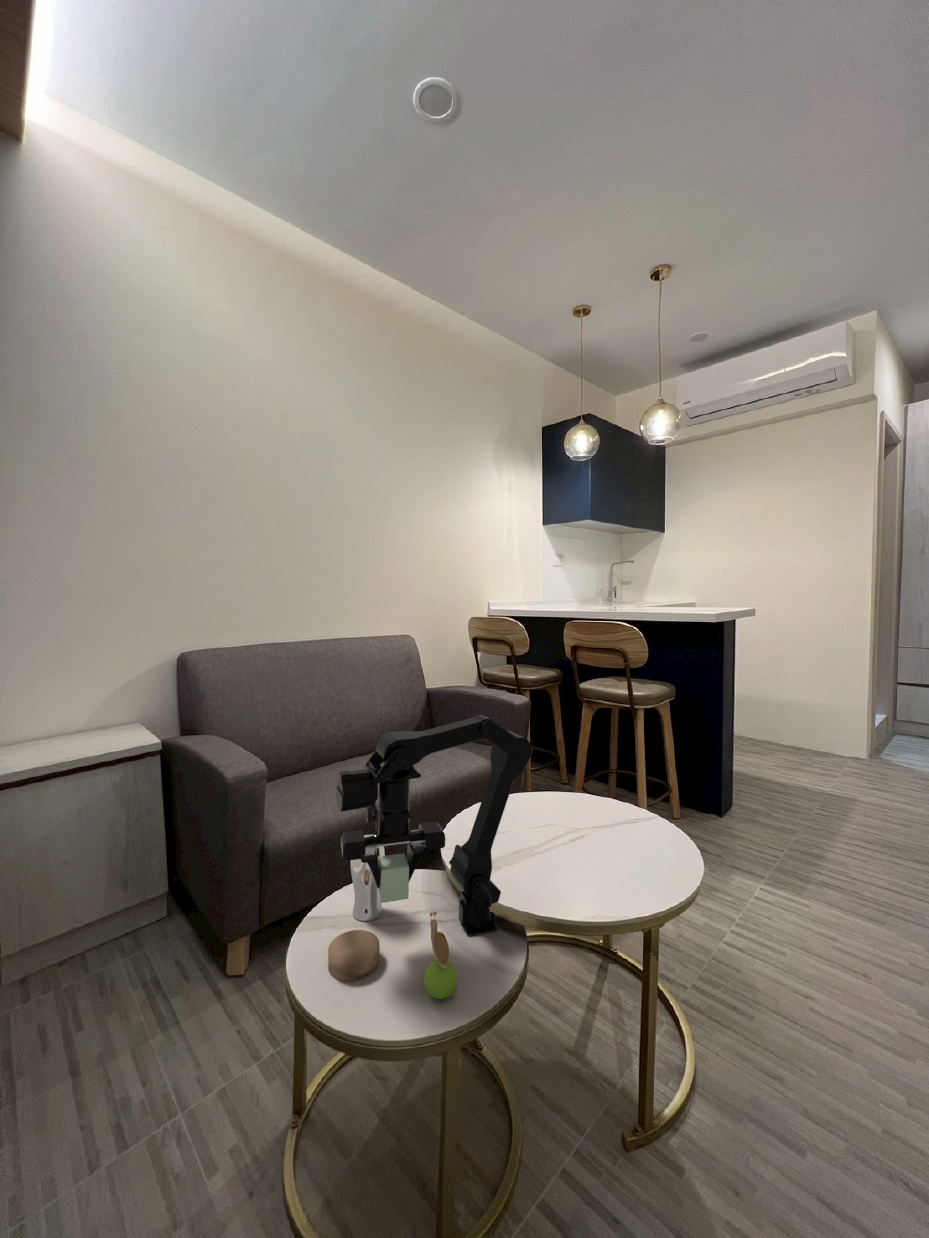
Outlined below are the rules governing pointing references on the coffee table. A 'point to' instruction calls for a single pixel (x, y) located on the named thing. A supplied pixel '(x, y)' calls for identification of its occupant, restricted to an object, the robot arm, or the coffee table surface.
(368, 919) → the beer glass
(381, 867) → the sage block
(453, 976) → the snail figurine
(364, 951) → the walnut base
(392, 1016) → the coffee table surface
